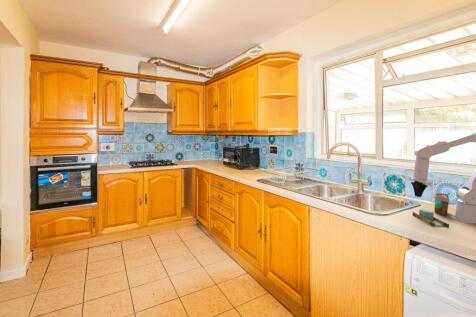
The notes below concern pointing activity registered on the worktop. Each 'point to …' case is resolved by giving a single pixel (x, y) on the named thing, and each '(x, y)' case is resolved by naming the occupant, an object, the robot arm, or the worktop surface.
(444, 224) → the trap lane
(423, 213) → the teal block
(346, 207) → the worktop surface
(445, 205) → the food container
